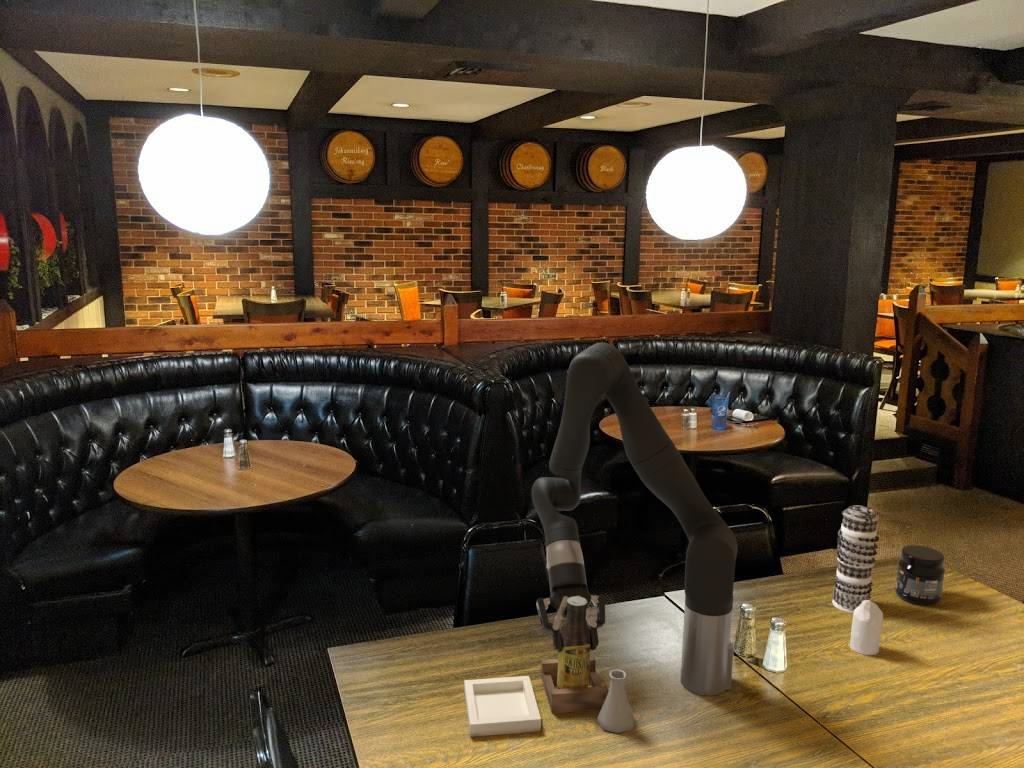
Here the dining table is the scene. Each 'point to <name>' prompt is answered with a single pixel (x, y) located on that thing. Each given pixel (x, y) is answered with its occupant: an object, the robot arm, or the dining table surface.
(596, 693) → the holder
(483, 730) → the tray
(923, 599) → the supplement container
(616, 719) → the flask
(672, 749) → the dining table surface
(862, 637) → the white pointed cylinder
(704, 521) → the robot arm
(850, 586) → the decorative candle
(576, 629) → the sauce bottle
